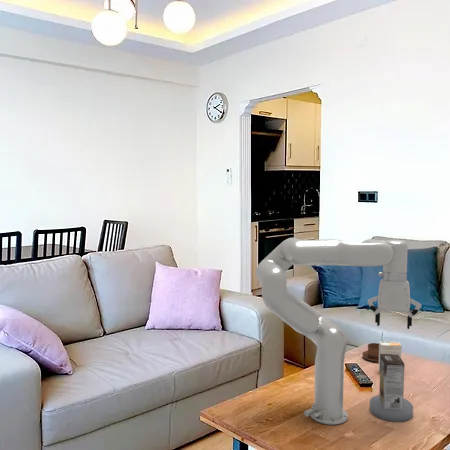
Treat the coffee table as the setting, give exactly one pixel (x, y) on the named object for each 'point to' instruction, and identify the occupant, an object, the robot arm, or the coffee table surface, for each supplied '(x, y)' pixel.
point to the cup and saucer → (372, 352)
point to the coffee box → (391, 381)
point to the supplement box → (389, 349)
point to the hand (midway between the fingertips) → (393, 326)
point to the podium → (391, 411)
